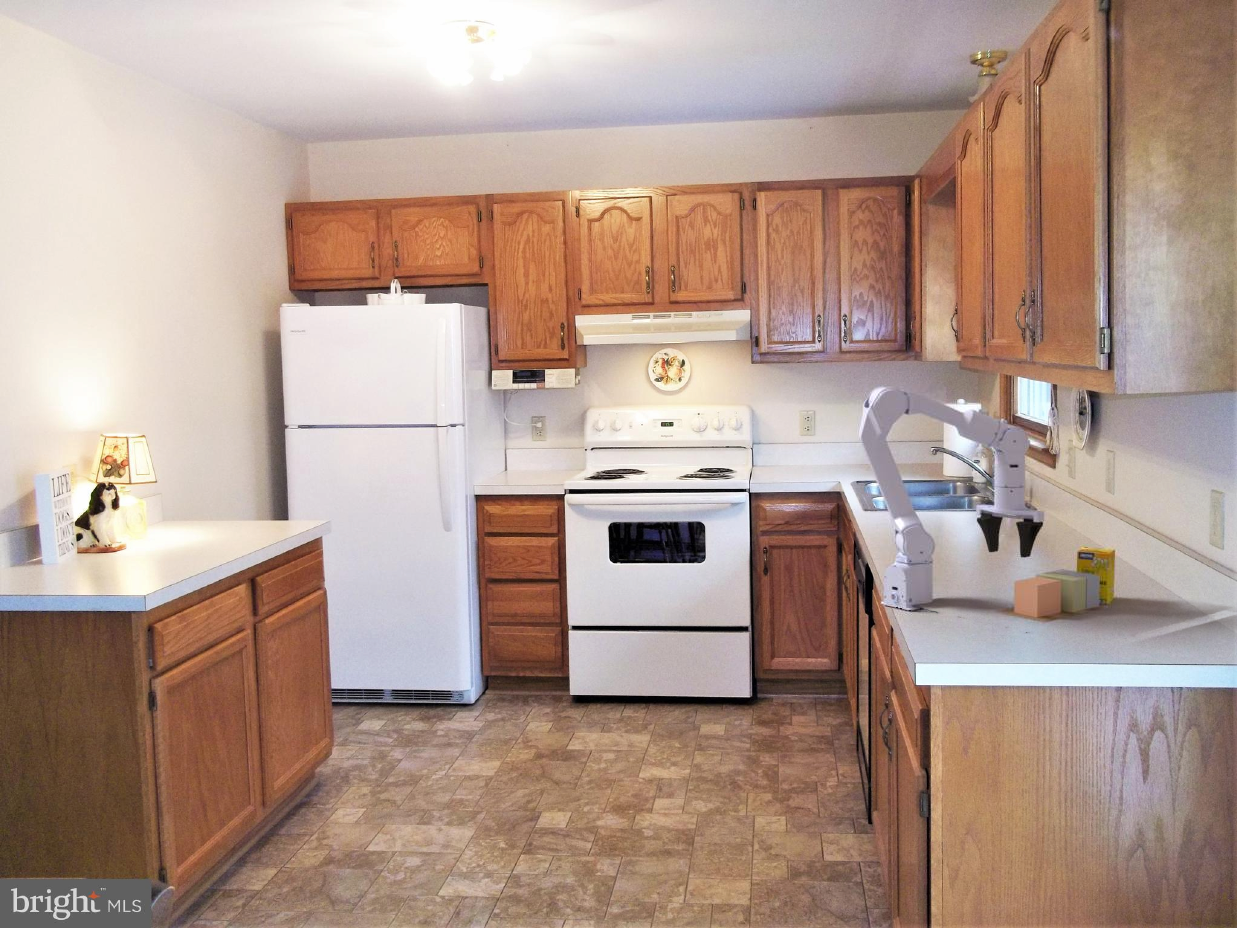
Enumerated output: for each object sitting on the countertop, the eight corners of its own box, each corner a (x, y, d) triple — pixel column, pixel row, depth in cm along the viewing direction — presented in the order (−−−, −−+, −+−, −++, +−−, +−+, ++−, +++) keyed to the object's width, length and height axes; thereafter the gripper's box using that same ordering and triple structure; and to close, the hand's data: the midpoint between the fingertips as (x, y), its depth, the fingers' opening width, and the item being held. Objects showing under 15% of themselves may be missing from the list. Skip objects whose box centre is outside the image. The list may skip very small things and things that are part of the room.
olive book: (1072, 612, 206) (1073, 580, 206) (1035, 605, 213) (1036, 574, 212) (1085, 609, 208) (1086, 578, 208) (1048, 602, 215) (1049, 571, 214)
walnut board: (1044, 627, 199) (1044, 622, 199) (993, 616, 208) (993, 611, 208) (1108, 612, 210) (1108, 606, 210) (1057, 602, 219) (1058, 597, 219)
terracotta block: (1037, 617, 203) (1037, 585, 202) (1014, 612, 207) (1014, 581, 206) (1060, 612, 207) (1061, 580, 206) (1037, 607, 211) (1038, 576, 210)
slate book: (1086, 609, 208) (1087, 577, 208) (1049, 601, 215) (1050, 571, 215) (1099, 606, 211) (1099, 575, 210) (1062, 599, 217) (1062, 569, 217)
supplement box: (1075, 606, 216) (1076, 550, 215) (1082, 600, 221) (1083, 546, 220) (1108, 609, 212) (1109, 553, 211) (1114, 603, 217) (1115, 548, 216)
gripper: (1054, 487, 213) (1053, 556, 214) (992, 481, 225) (992, 547, 227) (1031, 490, 209) (1030, 561, 211) (969, 484, 222) (969, 551, 223)
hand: (1009, 554), depth 218 cm, fingers open, 7 cm apart
